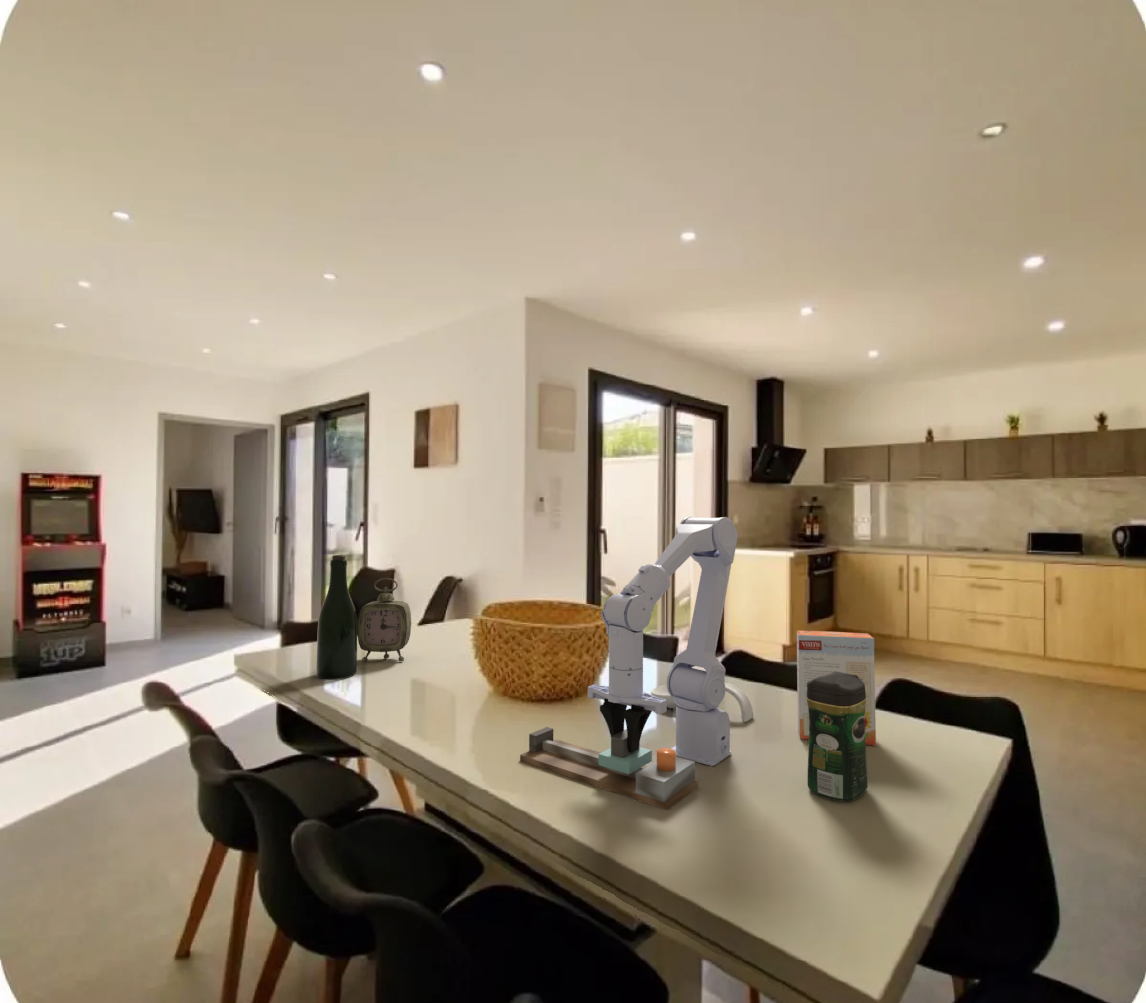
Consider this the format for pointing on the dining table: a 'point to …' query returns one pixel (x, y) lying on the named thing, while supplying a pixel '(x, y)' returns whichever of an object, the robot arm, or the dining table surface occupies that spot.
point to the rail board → (611, 771)
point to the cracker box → (835, 669)
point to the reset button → (666, 759)
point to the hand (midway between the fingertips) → (625, 748)
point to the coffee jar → (837, 736)
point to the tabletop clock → (384, 624)
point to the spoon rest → (737, 693)
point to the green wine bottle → (337, 627)
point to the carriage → (624, 755)
